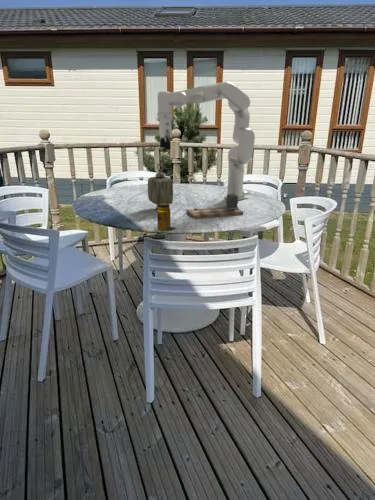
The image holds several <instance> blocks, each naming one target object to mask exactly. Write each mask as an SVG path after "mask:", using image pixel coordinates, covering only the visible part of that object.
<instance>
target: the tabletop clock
mask: <svg viewBox="0 0 375 500" xmlns="http://www.w3.org/2000/svg"><path fill="white" fill-rule="evenodd" d="M159 166H160V167H161V168H159ZM156 169H157V171H158V172H156V174H155V176H151V177H150V178H149V179H147V197H148V200H149V202H150V203H152V204H155V205H156V207H155V211H157V210H158V204H159V203H168V204H169V205H171V204H173V203H174V201H173V200H174V183H173V180H172V178H171V177H169V176H166V175H165V173H164V172H163V171H164V167H163V164H161V163H158V164H157V166H156Z"/></svg>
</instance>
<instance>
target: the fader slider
mask: <svg viewBox="0 0 375 500" xmlns="http://www.w3.org/2000/svg"><path fill="white" fill-rule="evenodd" d="M226 195H227V194H226ZM238 201H239V200H238V196H237V195H235V194H228V195H227V199H226V204H225V206H224V207H225V208H227V209H229V210H238V209H239V207H238Z"/></svg>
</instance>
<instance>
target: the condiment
mask: <svg viewBox="0 0 375 500" xmlns="http://www.w3.org/2000/svg"><path fill="white" fill-rule="evenodd" d="M170 206H171V204H168V203H159V204H158V210H156V211H157V212H156V214H157V220H156V221H157V224H156V225H157V227H156V228H154V230H156V231H159V232H164V233H167V232H170V231H172V230H175V229H177V227H175V226H171V224H172V223H171V208H170Z"/></svg>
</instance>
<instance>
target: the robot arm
mask: <svg viewBox="0 0 375 500" xmlns="http://www.w3.org/2000/svg"><path fill="white" fill-rule="evenodd" d="M218 100H219V101H220V100H227V103H228V104H227V105H228V108H229V109H230V110H232V112H233V114H234V115H233V116H234V124H233V125H234V126H233V130H232V131H233V133H232V140H233V142H234V143H235V144H238V145H234V146H232V147H231V148H230V149H229V150H228V153H227V160H228V173H227V192H226V194H225V195H224V198H225V200H227V195H228V194H235V195H237V196H238V201H242V200H244V199H245V198H246V197H245V196H248V195H250V191H246V190H244V178H245V177H244V175H245V165H247V164H249V162H250V161H251V160H252V157H253V152H254V147H255V141H256V135H255V132H254V130H253V129H252V128H249V127H250V121H251V119H250V118H251V117H250V112H249V107H250V105H251V99H250V97H249V96H248V94H246V93H245V92H244V91H242V90H241V89H240V88H239V87H238V86H236V85H235V84H234V83H233V82H230V81H222V82H217V83H211V84H205V85H200V86H197V87H193V88H189V89H183V90H179V91H172V92H171V91H159V92H158V93H157V119H158V120H159V124H158V125H159V127H158V128H159V129H158V131H159V144H160V145H159V146H160V147H159V148H160V149H164V150H165V151H166V150H171V139H172V138H173V130H172V120H173V119H172V118H173V113H172V111H173V110H172V109H173V107H176V108H177V107H183V106H184V105H192V104H203V103H208V102H212V101H218Z"/></svg>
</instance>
